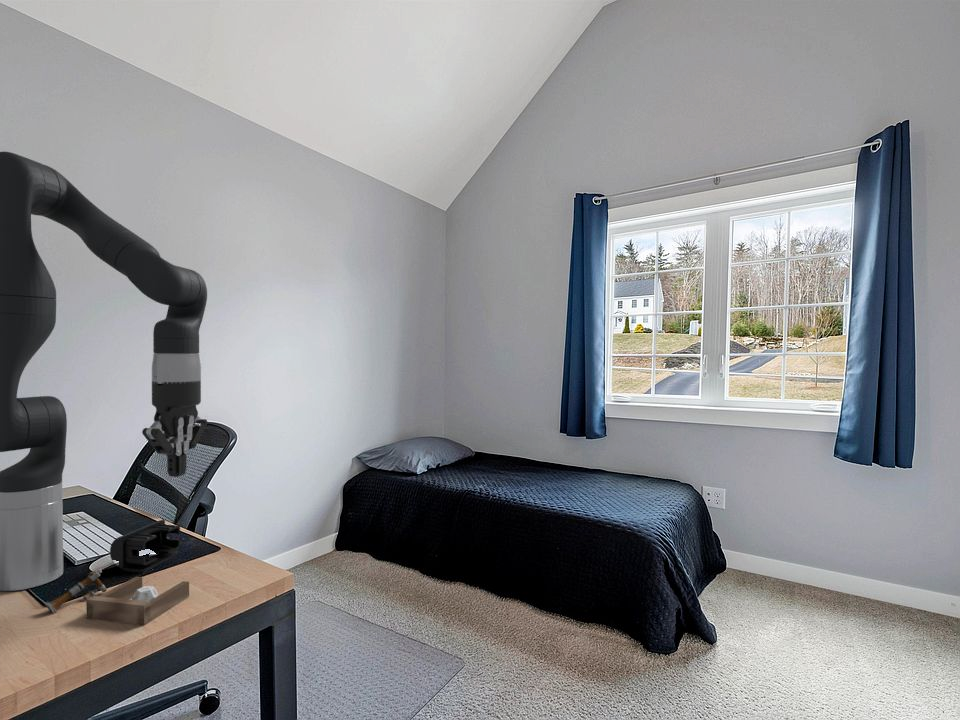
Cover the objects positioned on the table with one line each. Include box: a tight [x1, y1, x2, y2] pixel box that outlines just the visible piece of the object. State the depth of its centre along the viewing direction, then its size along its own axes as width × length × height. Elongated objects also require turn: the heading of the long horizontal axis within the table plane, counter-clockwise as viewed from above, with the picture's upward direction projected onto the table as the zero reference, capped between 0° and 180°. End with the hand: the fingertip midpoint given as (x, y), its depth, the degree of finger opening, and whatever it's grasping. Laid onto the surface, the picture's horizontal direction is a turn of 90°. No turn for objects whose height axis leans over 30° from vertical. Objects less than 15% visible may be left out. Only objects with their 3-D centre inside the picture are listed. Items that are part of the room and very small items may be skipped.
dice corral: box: [85, 576, 190, 626], centre depth 83 cm, size 10×9×3 cm
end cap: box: [109, 519, 181, 573], centre depth 100 cm, size 10×7×7 cm
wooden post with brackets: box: [44, 569, 108, 614], centre depth 84 cm, size 2×8×4 cm, turn 149°
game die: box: [131, 585, 159, 602], centre depth 83 cm, size 4×4×3 cm
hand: (176, 475), depth 90 cm, fingers closed
